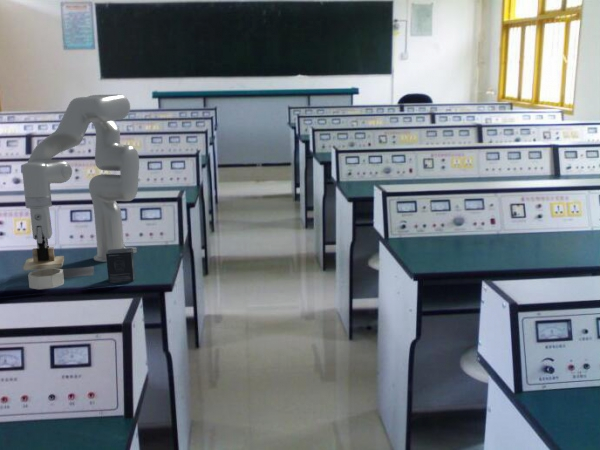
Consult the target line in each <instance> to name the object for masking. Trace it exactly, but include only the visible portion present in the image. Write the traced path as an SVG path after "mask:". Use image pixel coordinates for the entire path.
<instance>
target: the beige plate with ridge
mask: <svg viewBox="0 0 600 450" xmlns="http://www.w3.org/2000/svg"><path fill="white" fill-rule="evenodd" d="M48 253H49V260H48V261H38V255H37V248H33V249H32V257H28V258H27V259H26V261H25V262H24V264H23V265H22V267H23V271H35V270H39V269H48V268H57V269H60V268H63V265H64V261H65V256H64V255H55V249H54V246H51V247H50V246H49V247H48Z"/></svg>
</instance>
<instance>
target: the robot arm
mask: <svg viewBox="0 0 600 450" xmlns="http://www.w3.org/2000/svg"><path fill="white" fill-rule="evenodd" d="M130 112H131V103H130V101H129V99H128V98H127V97H126V96H125V95H123V94H92V95H88V96H81V97H79V96H78V97H76V98H73V99H72V100H70V102H69V104H68V106H67V108H66V110H65V112H64V114H63V116H62V118H61V120H60V121H59V124H58V127H57V128H56V129H55V131H54V132H52V133H50V134H49V135H48V136H46V137H45V138H44V139H43V140H42V141H40V142H39V143H38V144H37V145H36V147H35V148H34V149H33V150H32V152H31V154H30V156H29V158H28V160H27V162H25V163H24V164H23V165H22V167H21V169H22V170H21V172H22V182H23V190H24V191H23V193H24V201H25V202H24V203H25V209H29V211H30V223H31V231H32V232H31V233H32V237H33V240H35V241H36V247H37V255H38V261H48V260H49V253H48V247H50V246H49V240H50V239H51V238H52V235H53V227H52V219H51V213H50V208H51V207H53V206H52V205H53V203H52V194H51V193H52V192H51V191H52V190H51V184H64V183H66V182H68V181H69V180H70V179H71V177H72V176H73V175H72V174H73V169H72V166H71V164H70V163H69V162H67V161H65V160H63V159H53V158H54V157H55V156H56V155H59V154H61V153H63V152H65V151H67V150H70V149H73V148H74V147H77V146H78V145H80V144H81V143H82V142H83V139H84V137H85V134H86V133H87V130H88V128H89V126H90V124H93V126H94V131H95V150H94V151H95V152H94V161H95V162H94V164H95V166H96V168H97V169H99V170H101V171H107V172H109V171H110V172H119V173H120V174H113V173H112V174H111V173H110V174H105V173H103V174H97V175H95V176H93V177H92V178H91V179H90V180H89V183H88V188H89V189H88V190H89V194H90V198H91V202H92V205H93V213H94V225H95V226H94V227H95V236H96V238H95V239H96V249H97V250H96V251H97V254H96V255H94V256H93V260H94V261H95V262H104V263H107V259H106V253H107V251H108V250H110V249H125V248H132V249H133V254H134V253H137V251H138V250H137V247H133V246H129V247H128V246H125V244H124V233H123V232H124V231H123V219H122V216H123V215H122V210H121V208H120V205H119V204H118V203H117V202H131V201H133V200H134V199H135V198H136V197H137V194H138V190H139V189H138V187H139V175H140V173H139V172H140V171H139V170H140V157H139V154H138V151H137V149H136V148H135V147H134V146H132V145H130V144H121V132H120V131H121V130H120V128H119V126H118V125H117V123H116V121H118V120H119V121H120V120H123V119H125V118H127V116H128V115H129V113H130Z"/></svg>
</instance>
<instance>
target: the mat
mask: <svg viewBox="0 0 600 450" xmlns="http://www.w3.org/2000/svg"><path fill="white" fill-rule="evenodd" d="M62 269H63V275H64V279H67V278H69V279H70V278H79V277H80V278H81V277H88V276H94V274H95V266H82V267H71V268H62Z"/></svg>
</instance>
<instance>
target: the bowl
mask: <svg viewBox="0 0 600 450" xmlns="http://www.w3.org/2000/svg"><path fill="white" fill-rule="evenodd" d="M63 269H64V268H46V269H35V270H32V271H30V272H28V275H27V276H28V279H27V280H28V285H29V289H35V290H49V289H54V288H57V287H60V286H63V285H64V283H65V278H64V275H63Z"/></svg>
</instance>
